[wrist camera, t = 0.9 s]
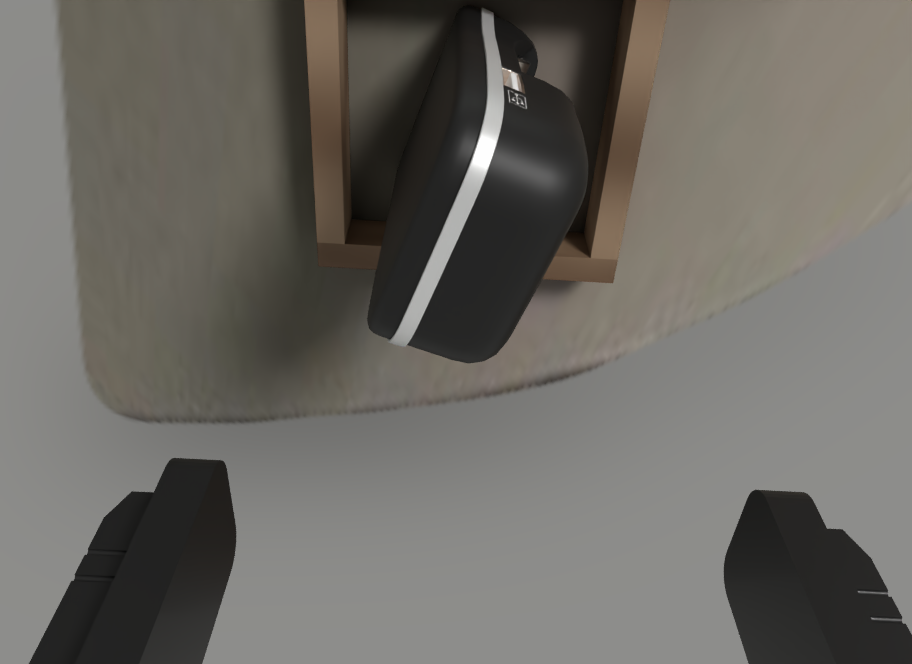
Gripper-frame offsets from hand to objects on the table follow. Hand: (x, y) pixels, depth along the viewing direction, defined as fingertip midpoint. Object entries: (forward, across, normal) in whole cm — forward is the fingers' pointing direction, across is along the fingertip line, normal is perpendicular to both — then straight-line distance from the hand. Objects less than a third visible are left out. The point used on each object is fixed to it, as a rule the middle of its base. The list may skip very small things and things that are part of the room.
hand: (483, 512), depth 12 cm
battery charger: (+19, 0, 0) cm, 19 cm away
